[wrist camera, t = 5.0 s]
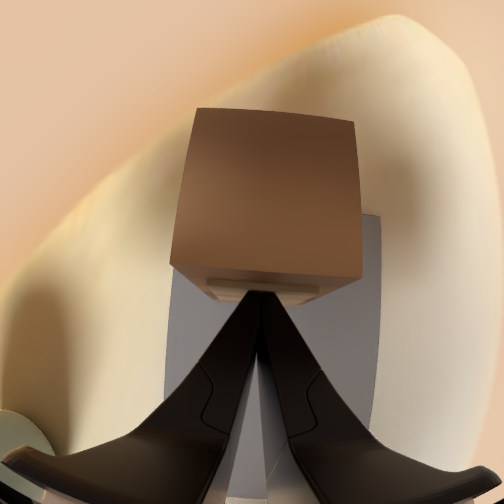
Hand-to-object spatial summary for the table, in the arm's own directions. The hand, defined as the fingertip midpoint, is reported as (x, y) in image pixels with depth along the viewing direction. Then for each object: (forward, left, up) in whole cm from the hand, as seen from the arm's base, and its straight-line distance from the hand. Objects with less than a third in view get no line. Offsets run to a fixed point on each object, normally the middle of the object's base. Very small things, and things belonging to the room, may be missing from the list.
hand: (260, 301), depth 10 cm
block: (+2, +1, -7) cm, 8 cm away
